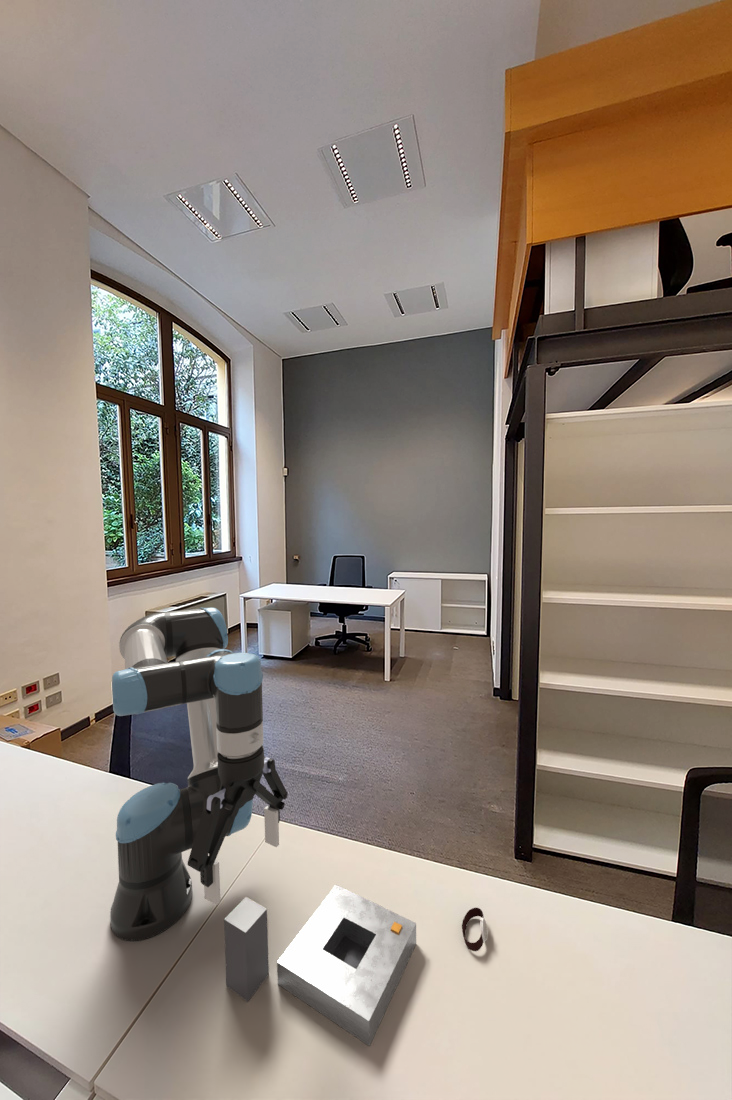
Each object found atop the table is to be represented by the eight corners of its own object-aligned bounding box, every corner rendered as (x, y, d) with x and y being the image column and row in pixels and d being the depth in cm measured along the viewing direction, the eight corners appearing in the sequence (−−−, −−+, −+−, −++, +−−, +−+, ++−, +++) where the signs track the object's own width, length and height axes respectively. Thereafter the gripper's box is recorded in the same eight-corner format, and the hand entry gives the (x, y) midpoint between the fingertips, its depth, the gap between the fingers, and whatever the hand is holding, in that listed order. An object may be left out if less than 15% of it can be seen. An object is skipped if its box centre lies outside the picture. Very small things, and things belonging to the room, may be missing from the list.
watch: (485, 958, 76) (485, 939, 76) (459, 950, 78) (459, 931, 78) (488, 921, 84) (488, 903, 84) (464, 914, 85) (464, 897, 85)
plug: (226, 986, 72) (224, 919, 72) (247, 960, 77) (245, 896, 76) (247, 1002, 70) (245, 932, 69) (268, 974, 74) (266, 908, 74)
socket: (277, 984, 73) (277, 960, 72) (336, 902, 88) (335, 882, 88) (369, 1046, 64) (368, 1019, 63) (416, 943, 79) (416, 921, 79)
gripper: (192, 795, 59) (198, 942, 60) (304, 722, 80) (307, 831, 81) (158, 780, 62) (164, 918, 63) (274, 714, 84) (277, 818, 85)
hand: (244, 869), depth 72 cm, fingers open, 13 cm apart
